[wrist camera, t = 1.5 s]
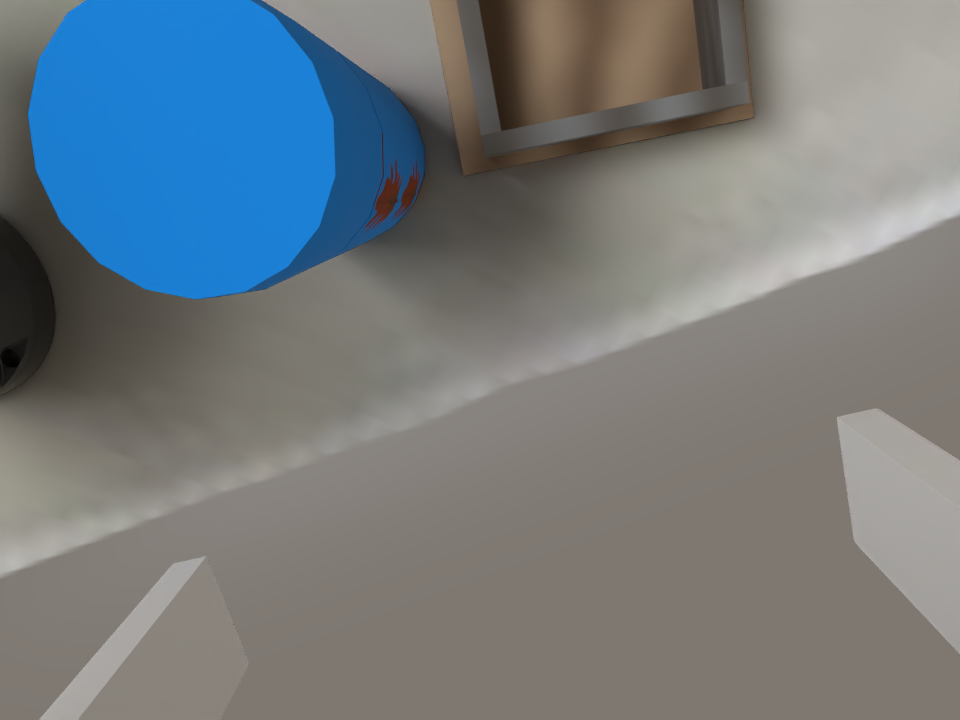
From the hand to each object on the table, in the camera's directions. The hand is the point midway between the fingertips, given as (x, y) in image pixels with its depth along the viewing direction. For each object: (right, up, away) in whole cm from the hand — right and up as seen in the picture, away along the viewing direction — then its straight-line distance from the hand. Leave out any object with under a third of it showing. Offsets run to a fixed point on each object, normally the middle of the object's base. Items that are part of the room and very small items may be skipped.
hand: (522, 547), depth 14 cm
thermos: (-10, +17, +33) cm, 39 cm away
